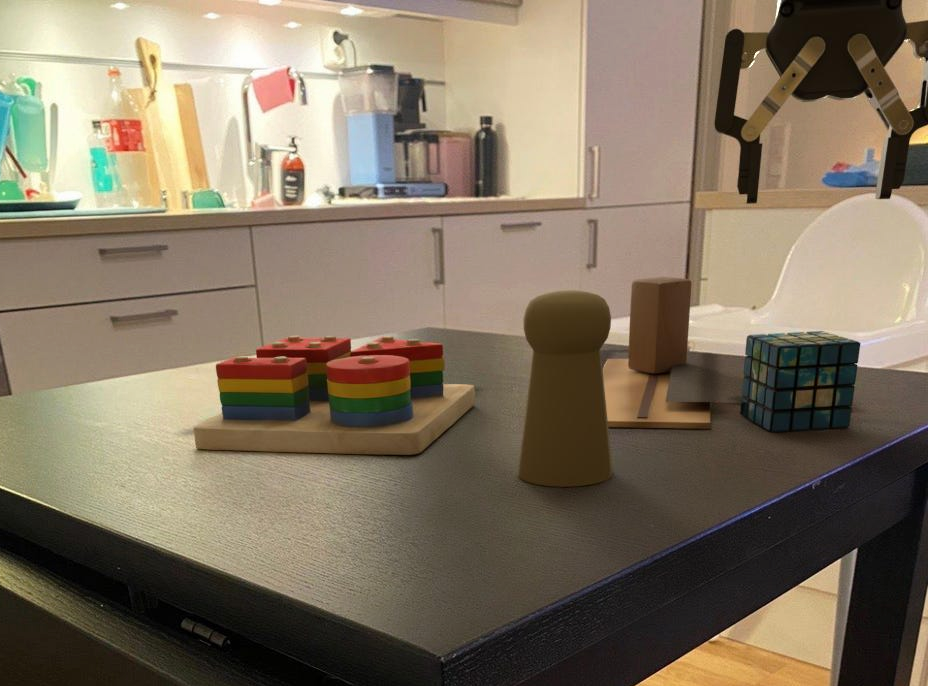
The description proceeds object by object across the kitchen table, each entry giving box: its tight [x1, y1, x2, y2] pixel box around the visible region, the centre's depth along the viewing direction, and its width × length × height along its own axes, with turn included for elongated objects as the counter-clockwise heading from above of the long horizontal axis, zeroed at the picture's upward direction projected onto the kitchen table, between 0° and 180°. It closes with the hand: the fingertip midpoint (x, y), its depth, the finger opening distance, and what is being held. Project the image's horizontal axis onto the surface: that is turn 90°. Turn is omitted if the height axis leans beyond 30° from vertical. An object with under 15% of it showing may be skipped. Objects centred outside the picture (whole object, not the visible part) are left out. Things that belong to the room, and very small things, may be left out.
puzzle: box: [739, 330, 861, 433], centre depth 71 cm, size 6×6×6 cm
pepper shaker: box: [517, 289, 614, 488], centre depth 60 cm, size 6×6×11 cm
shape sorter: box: [193, 335, 476, 456], centre depth 76 cm, size 18×17×6 cm
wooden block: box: [627, 276, 692, 374], centre depth 89 cm, size 4×4×8 cm
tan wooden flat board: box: [602, 358, 712, 430], centre depth 85 cm, size 10×28×1 cm, turn 166°
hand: (815, 201), depth 67 cm, fingers open, 8 cm apart
